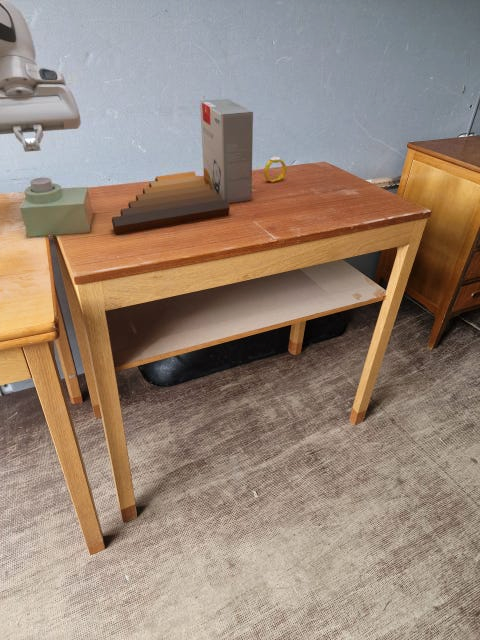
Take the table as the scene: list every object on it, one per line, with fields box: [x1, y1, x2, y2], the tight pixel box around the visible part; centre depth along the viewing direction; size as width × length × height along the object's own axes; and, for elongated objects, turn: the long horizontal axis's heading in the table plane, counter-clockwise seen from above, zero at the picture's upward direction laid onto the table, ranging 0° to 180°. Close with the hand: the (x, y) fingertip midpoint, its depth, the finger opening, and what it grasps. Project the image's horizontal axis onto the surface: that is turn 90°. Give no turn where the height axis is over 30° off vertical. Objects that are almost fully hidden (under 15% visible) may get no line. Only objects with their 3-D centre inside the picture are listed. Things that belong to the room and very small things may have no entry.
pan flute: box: [111, 171, 231, 236], centre depth 102 cm, size 25×3×25 cm
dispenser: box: [19, 182, 94, 238], centre depth 92 cm, size 12×10×8 cm
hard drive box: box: [199, 98, 254, 204], centre depth 105 cm, size 16×8×20 cm, turn 21°
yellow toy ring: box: [263, 156, 287, 183], centre depth 116 cm, size 6×3×6 cm, turn 118°
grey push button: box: [29, 177, 53, 193], centre depth 89 cm, size 4×4×2 cm
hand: (32, 149), depth 85 cm, fingers closed
